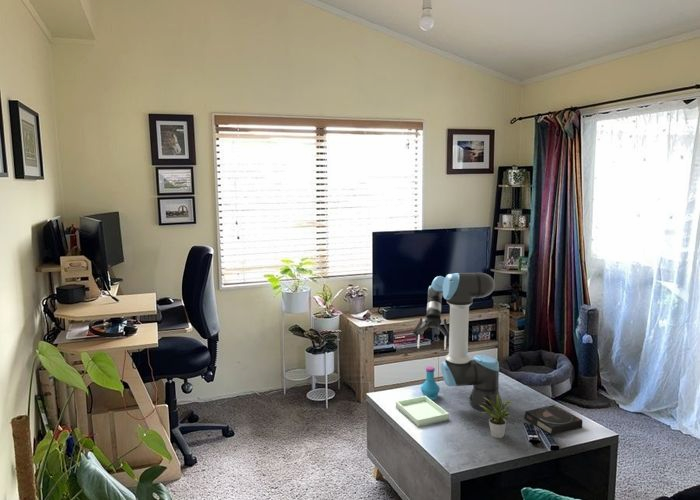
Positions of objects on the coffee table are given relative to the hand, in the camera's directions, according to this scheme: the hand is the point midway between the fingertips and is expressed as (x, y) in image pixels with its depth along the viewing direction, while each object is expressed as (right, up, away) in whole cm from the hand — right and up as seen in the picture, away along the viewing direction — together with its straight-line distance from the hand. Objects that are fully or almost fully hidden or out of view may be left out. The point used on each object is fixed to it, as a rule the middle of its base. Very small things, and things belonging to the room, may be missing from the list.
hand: (431, 347), depth 264 cm
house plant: (+21, -28, -46) cm, 58 cm away
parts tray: (-9, -25, -26) cm, 37 cm away
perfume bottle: (-2, -23, -8) cm, 24 cm away
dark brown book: (+47, -27, -37) cm, 66 cm away
